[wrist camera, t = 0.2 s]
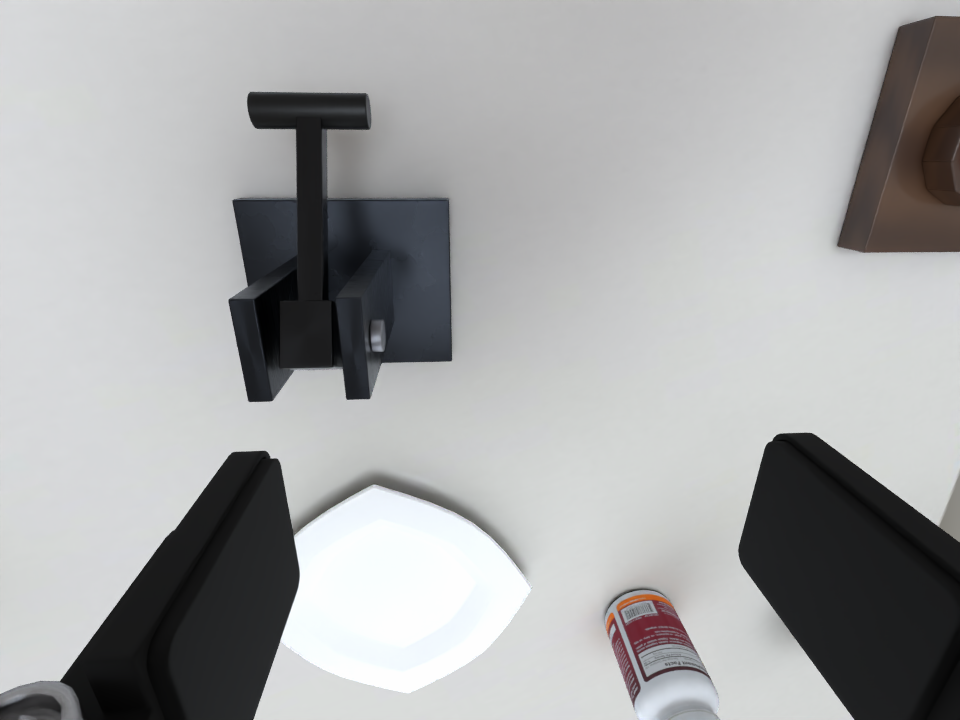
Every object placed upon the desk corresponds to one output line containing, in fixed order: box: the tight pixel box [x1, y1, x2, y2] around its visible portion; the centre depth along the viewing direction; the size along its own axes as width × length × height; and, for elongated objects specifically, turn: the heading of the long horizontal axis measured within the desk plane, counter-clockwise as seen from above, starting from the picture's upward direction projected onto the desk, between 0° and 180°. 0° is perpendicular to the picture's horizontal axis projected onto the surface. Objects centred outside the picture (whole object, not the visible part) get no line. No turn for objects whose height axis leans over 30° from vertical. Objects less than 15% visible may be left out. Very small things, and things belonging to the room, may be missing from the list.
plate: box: [280, 484, 532, 693], centre depth 39 cm, size 19×19×2 cm
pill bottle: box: [605, 590, 720, 720], centre depth 38 cm, size 6×6×11 cm
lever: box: [247, 92, 371, 370], centre depth 21 cm, size 12×5×2 cm, turn 179°
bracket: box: [229, 198, 452, 402], centre depth 25 cm, size 10×12×12 cm
